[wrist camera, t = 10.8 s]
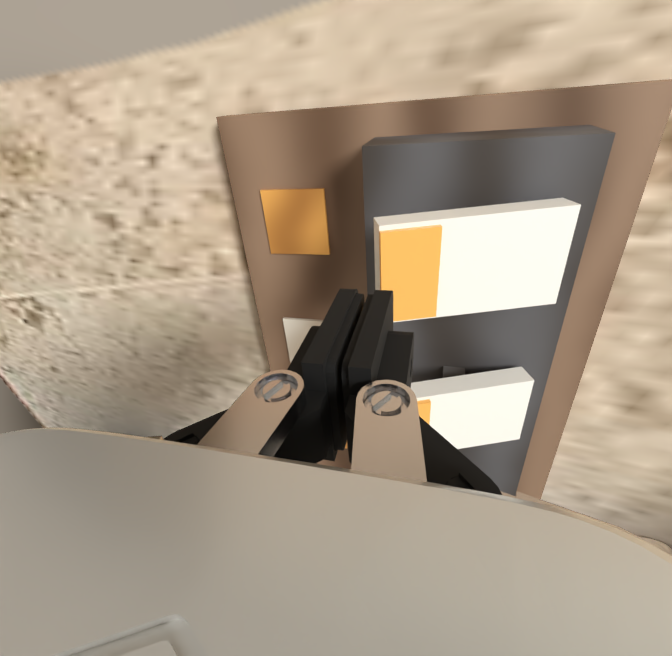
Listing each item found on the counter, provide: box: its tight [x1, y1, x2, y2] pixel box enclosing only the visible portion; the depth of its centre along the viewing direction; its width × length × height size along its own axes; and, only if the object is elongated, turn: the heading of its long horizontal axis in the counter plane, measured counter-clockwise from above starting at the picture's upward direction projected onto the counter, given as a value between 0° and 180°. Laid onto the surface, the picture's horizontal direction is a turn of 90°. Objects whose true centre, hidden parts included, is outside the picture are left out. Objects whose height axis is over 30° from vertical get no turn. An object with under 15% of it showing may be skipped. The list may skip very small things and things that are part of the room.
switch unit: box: [216, 80, 672, 499], centre depth 25 cm, size 22×30×6 cm
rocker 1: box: [374, 198, 581, 322], centre depth 16 cm, size 8×4×1 cm, turn 95°
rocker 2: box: [411, 367, 534, 449], centre depth 21 cm, size 8×4×2 cm, turn 95°
